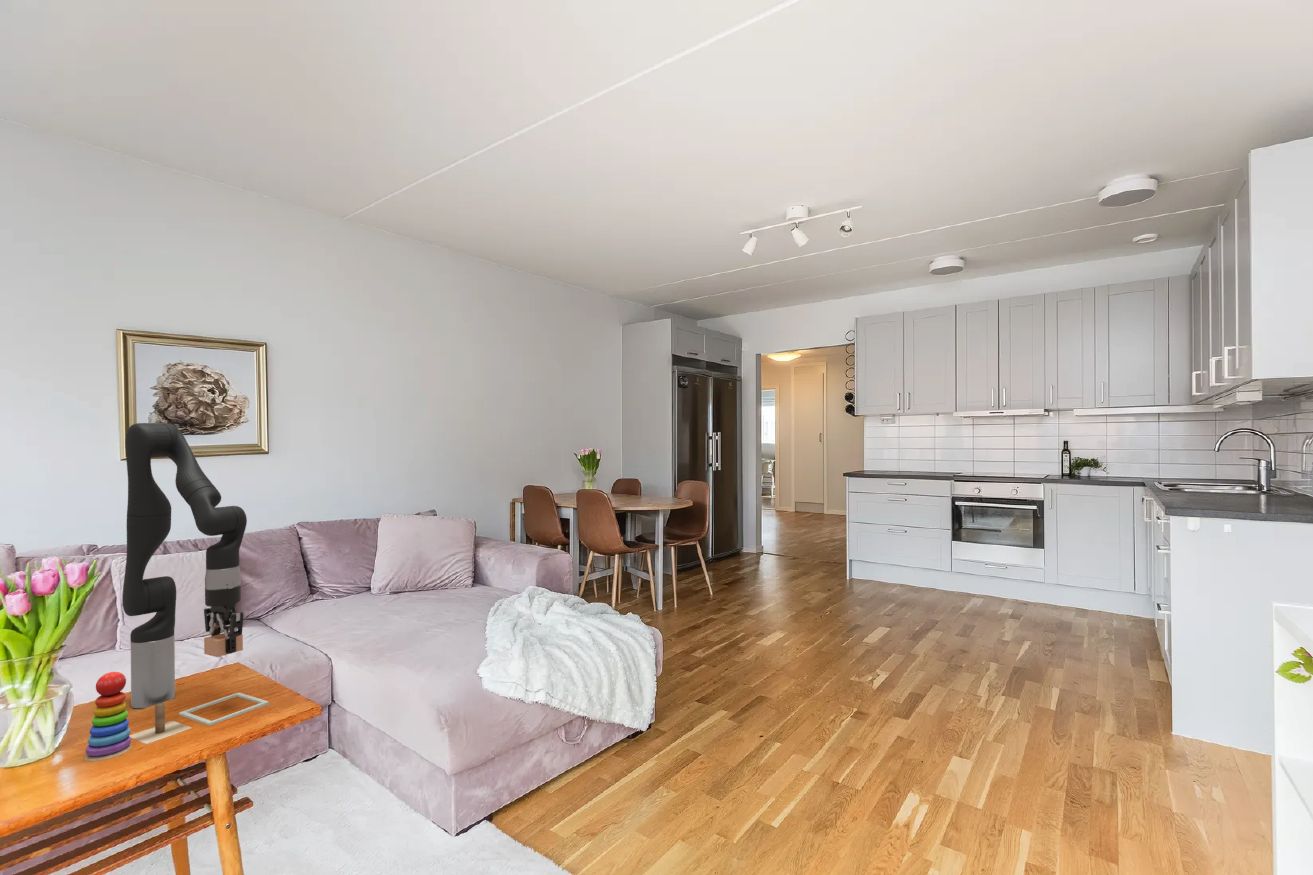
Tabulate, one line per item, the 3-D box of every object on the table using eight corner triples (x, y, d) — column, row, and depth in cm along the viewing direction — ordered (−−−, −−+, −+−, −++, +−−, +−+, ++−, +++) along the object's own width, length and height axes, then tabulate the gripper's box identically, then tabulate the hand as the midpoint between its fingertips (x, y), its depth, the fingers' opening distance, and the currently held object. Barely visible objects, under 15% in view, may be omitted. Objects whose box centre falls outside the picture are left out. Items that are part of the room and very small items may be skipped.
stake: (127, 742, 144) (127, 707, 144) (172, 726, 152) (172, 693, 152) (146, 750, 139) (146, 715, 140) (191, 733, 147) (191, 700, 148)
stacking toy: (104, 769, 132) (103, 680, 132) (74, 766, 133) (73, 678, 133) (141, 751, 139) (141, 667, 140) (113, 748, 141) (112, 665, 141)
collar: (204, 653, 157) (204, 637, 157) (234, 645, 163) (233, 630, 163) (217, 657, 154) (217, 641, 154) (246, 648, 160) (246, 633, 160)
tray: (179, 720, 155) (178, 712, 155) (238, 699, 167) (238, 692, 167) (209, 731, 148) (209, 723, 148) (269, 709, 161) (268, 701, 161)
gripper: (191, 585, 158) (192, 651, 158) (222, 590, 152) (223, 659, 151) (223, 579, 165) (224, 642, 165) (254, 584, 158) (255, 650, 158)
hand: (223, 650), depth 158 cm, fingers closed on collar, 6 cm apart
